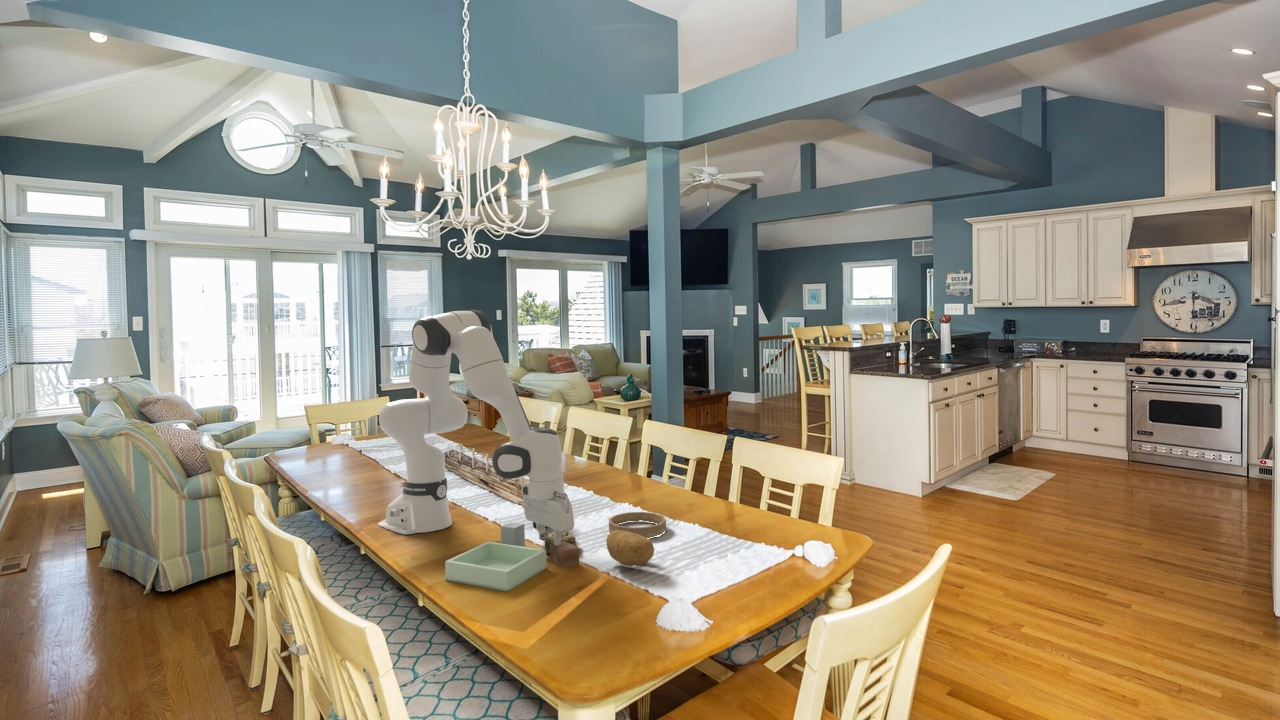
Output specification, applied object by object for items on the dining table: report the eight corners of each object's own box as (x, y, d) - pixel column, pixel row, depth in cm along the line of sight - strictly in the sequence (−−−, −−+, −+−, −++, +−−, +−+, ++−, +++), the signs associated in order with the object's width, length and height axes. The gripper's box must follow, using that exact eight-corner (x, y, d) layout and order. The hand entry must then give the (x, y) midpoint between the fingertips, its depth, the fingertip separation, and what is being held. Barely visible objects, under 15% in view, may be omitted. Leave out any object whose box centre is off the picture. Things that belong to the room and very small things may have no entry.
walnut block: (549, 544, 165) (563, 550, 160) (564, 541, 168) (579, 547, 162) (549, 561, 165) (563, 568, 160) (564, 558, 168) (578, 565, 162)
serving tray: (445, 580, 153) (445, 561, 153) (488, 558, 167) (488, 541, 167) (507, 591, 145) (506, 571, 145) (546, 568, 160) (546, 550, 159)
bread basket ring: (599, 536, 185) (598, 524, 185) (624, 520, 200) (624, 509, 200) (651, 543, 178) (651, 530, 178) (673, 526, 193) (673, 515, 193)
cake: (552, 559, 166) (549, 539, 166) (537, 549, 175) (534, 530, 174) (586, 547, 171) (583, 528, 171) (570, 538, 180) (567, 520, 179)
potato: (638, 576, 153) (637, 543, 153) (597, 563, 162) (597, 532, 162) (664, 565, 160) (664, 534, 160) (624, 553, 170) (624, 523, 169)
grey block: (501, 552, 172) (500, 526, 172) (511, 547, 177) (510, 522, 176) (515, 554, 171) (514, 528, 170) (524, 549, 175) (524, 523, 174)
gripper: (578, 492, 161) (581, 547, 161) (539, 483, 177) (542, 532, 177) (556, 497, 157) (560, 553, 157) (518, 486, 173) (521, 537, 173)
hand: (550, 542), depth 167 cm, fingers open, 5 cm apart
